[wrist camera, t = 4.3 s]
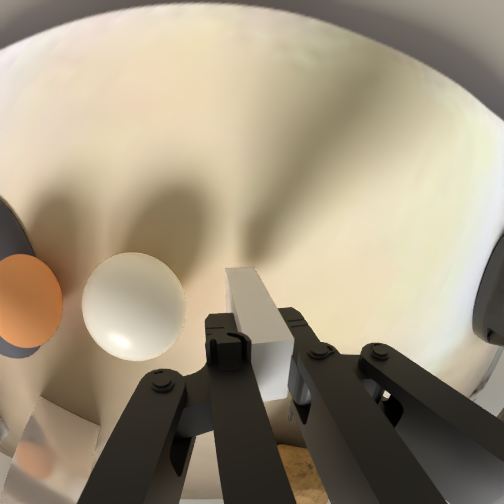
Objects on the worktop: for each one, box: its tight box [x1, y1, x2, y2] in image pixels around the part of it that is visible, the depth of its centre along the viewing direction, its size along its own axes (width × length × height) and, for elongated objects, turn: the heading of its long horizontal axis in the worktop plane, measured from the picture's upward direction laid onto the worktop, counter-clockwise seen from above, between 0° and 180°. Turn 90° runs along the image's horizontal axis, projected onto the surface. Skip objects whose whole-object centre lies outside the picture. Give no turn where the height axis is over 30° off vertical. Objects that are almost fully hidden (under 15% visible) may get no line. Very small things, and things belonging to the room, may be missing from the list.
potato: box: [277, 445, 329, 504], centre depth 19 cm, size 10×14×8 cm
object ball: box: [0, 254, 63, 348], centre depth 11 cm, size 6×6×6 cm
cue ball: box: [82, 252, 187, 361], centre depth 13 cm, size 6×6×6 cm
